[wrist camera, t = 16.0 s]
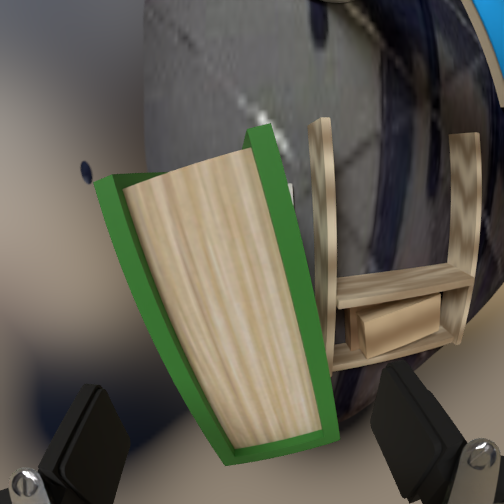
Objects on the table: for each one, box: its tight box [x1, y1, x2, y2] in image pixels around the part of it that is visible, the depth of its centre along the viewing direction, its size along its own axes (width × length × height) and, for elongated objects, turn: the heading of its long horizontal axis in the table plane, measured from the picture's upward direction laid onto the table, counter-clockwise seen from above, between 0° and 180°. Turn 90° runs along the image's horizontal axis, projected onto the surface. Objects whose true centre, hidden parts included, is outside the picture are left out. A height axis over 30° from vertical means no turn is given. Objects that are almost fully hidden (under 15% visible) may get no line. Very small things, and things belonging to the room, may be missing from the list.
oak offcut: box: [356, 292, 441, 359], centre depth 37 cm, size 6×12×3 cm, turn 104°
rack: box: [307, 118, 482, 377], centre depth 35 cm, size 31×23×7 cm
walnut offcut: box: [344, 302, 385, 351], centre depth 40 cm, size 7×14×3 cm, turn 100°
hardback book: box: [93, 123, 340, 466], centre depth 25 cm, size 18×7×24 cm, turn 16°
